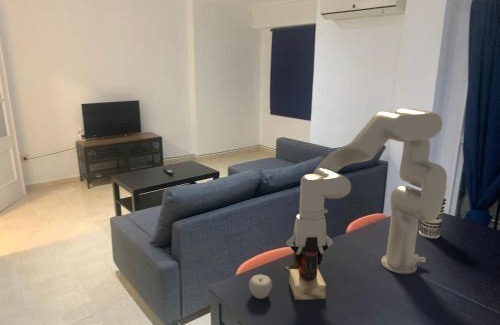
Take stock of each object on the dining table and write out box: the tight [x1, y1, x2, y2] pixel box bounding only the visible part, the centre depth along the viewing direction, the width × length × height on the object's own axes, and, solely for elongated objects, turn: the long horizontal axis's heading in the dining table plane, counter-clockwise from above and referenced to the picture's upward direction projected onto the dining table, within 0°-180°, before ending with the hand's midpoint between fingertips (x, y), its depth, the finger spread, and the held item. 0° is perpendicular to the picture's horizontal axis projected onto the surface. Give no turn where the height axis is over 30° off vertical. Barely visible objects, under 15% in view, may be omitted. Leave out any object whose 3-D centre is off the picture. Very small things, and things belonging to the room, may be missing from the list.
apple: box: [248, 273, 273, 300], centre depth 116 cm, size 8×8×7 cm
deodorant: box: [299, 237, 319, 280], centre depth 117 cm, size 6×6×15 cm
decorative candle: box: [418, 185, 448, 239], centre depth 159 cm, size 9×9×25 cm
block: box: [288, 267, 327, 301], centre depth 120 cm, size 10×10×5 cm
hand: (308, 262), depth 118 cm, fingers closed on deodorant, 5 cm apart
